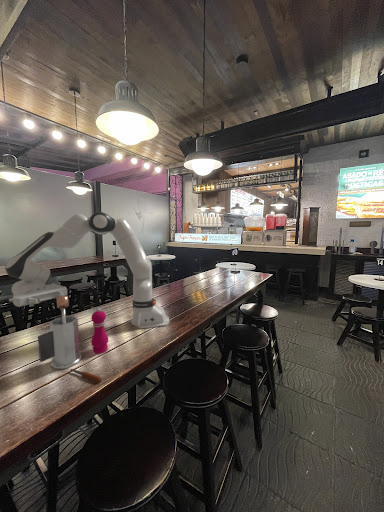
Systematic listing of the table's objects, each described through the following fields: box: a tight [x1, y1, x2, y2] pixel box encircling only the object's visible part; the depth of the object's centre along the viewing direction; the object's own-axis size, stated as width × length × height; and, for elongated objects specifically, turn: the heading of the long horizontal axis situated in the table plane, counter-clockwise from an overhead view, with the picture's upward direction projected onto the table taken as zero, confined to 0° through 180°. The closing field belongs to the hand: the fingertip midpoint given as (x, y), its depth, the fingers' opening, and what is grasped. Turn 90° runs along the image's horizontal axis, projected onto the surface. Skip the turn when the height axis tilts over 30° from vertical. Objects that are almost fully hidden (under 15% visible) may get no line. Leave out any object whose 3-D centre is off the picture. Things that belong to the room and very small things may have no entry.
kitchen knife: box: [69, 368, 102, 384], centre depth 81 cm, size 16×1×2 cm, turn 67°
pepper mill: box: [90, 307, 109, 354], centre depth 98 cm, size 7×7×20 cm
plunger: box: [56, 295, 70, 324], centre depth 89 cm, size 6×6×26 cm
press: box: [37, 315, 82, 371], centre depth 88 cm, size 11×14×18 cm
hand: (50, 298), depth 92 cm, fingers open, 8 cm apart
